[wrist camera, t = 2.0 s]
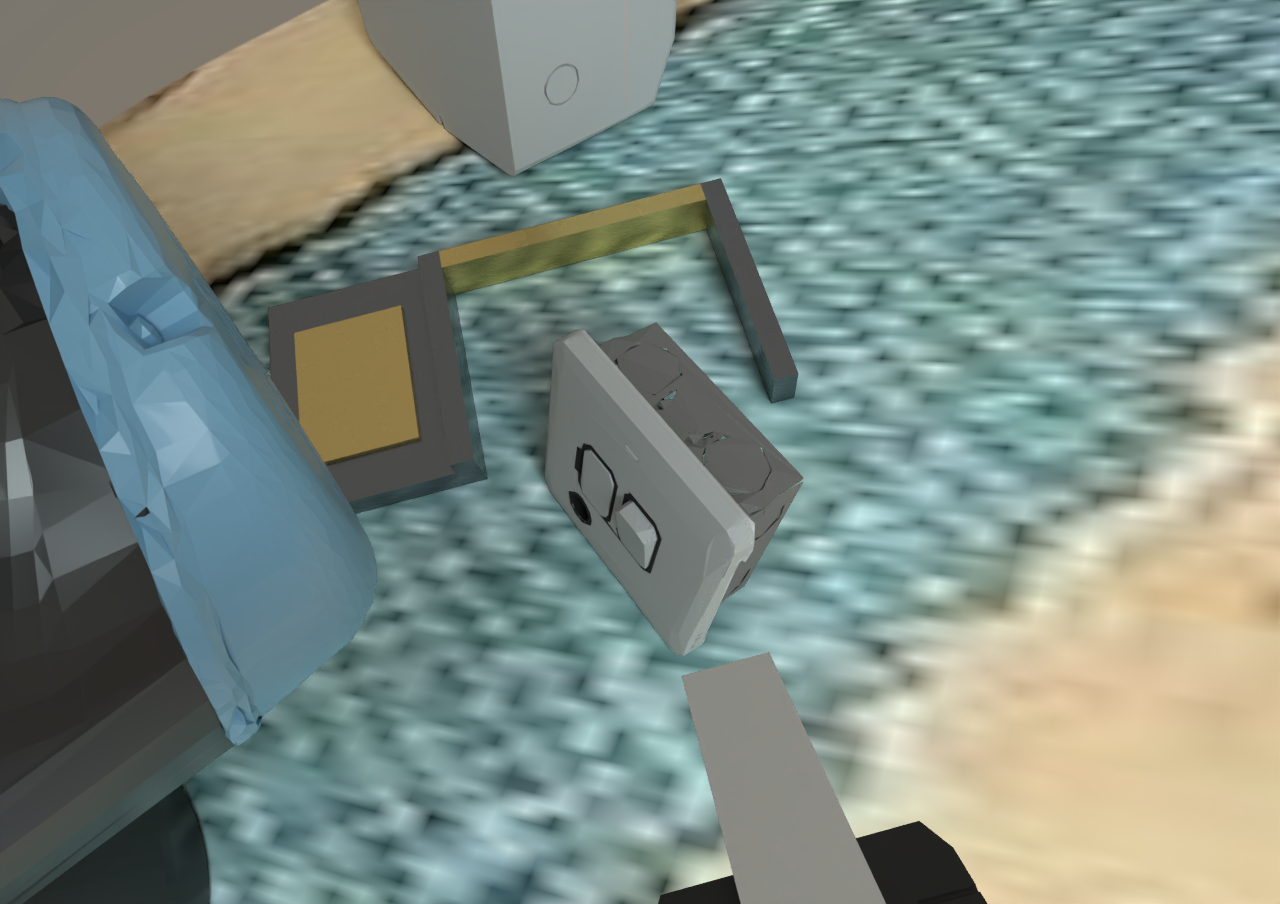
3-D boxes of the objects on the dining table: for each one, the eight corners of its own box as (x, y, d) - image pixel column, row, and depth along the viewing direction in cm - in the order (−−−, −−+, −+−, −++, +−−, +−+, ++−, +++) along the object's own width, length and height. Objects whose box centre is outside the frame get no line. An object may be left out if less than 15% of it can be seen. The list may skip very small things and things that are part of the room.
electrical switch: (543, 485, 33) (507, 356, 25) (642, 421, 34) (639, 279, 26) (680, 666, 29) (692, 585, 21) (785, 586, 31) (833, 481, 22)
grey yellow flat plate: (291, 530, 33) (267, 513, 31) (281, 322, 38) (258, 297, 36) (793, 397, 33) (798, 373, 32) (720, 208, 38) (720, 178, 36)
